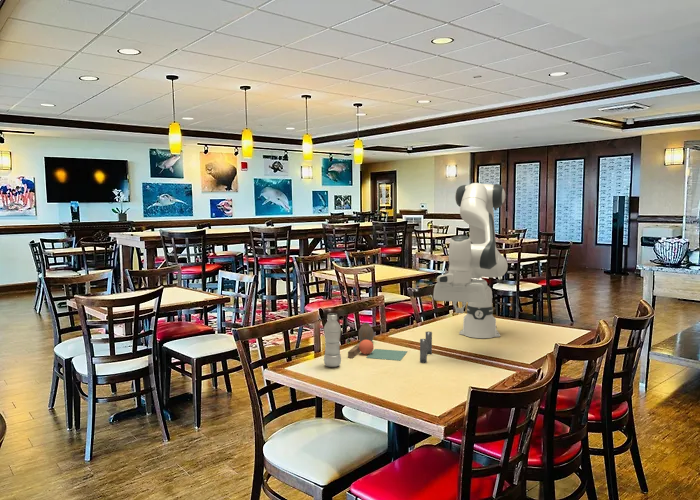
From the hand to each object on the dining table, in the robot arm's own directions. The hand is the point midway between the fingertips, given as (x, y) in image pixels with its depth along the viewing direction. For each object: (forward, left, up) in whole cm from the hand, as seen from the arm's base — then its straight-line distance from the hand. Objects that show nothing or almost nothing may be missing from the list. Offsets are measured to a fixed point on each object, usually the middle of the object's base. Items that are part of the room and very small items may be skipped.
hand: (459, 312), depth 204 cm
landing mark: (0, -29, -19) cm, 35 cm away
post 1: (+7, -13, -19) cm, 24 cm away
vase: (-18, -43, -19) cm, 50 cm away
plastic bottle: (+22, -45, -19) cm, 54 cm away
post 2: (-6, -13, -19) cm, 24 cm away
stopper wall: (0, -42, -19) cm, 46 cm away
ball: (+1, -38, -16) cm, 41 cm away
